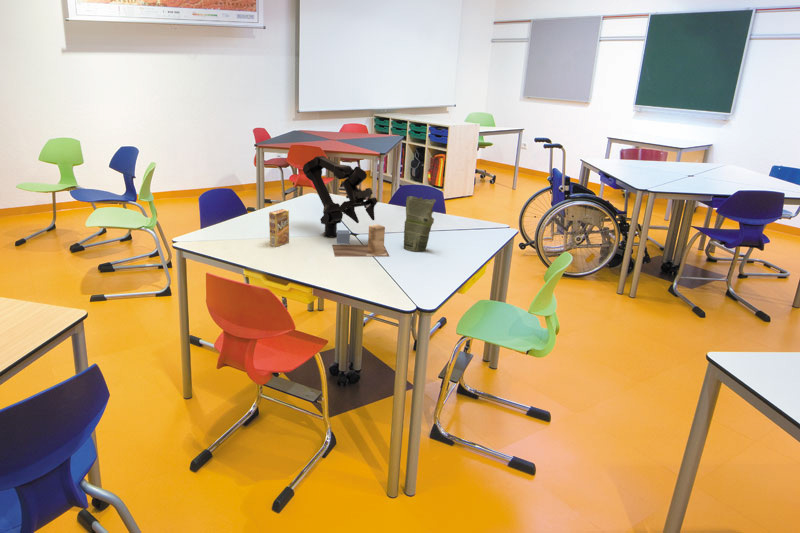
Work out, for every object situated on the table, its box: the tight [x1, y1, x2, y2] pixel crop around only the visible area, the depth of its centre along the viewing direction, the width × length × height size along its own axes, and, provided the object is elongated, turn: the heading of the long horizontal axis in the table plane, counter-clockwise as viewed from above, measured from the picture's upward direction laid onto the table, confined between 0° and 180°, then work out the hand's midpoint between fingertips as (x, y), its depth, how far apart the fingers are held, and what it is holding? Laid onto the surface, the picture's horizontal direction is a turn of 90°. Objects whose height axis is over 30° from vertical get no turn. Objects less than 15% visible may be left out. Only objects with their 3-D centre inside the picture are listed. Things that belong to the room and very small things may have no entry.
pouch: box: [403, 195, 437, 253], centre depth 255 cm, size 11×12×25 cm
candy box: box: [268, 208, 290, 248], centre depth 252 cm, size 9×4×15 cm, turn 150°
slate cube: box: [336, 229, 351, 245], centre depth 261 cm, size 6×6×6 cm
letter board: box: [331, 244, 391, 258], centre depth 251 cm, size 17×24×1 cm
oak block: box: [367, 223, 386, 255], centre depth 247 cm, size 5×5×12 cm
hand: (366, 221), depth 251 cm, fingers open, 9 cm apart
